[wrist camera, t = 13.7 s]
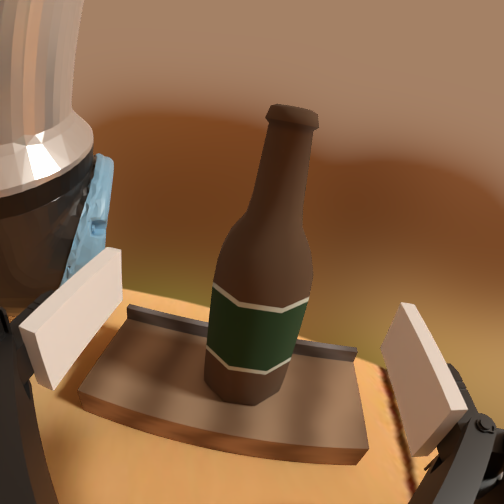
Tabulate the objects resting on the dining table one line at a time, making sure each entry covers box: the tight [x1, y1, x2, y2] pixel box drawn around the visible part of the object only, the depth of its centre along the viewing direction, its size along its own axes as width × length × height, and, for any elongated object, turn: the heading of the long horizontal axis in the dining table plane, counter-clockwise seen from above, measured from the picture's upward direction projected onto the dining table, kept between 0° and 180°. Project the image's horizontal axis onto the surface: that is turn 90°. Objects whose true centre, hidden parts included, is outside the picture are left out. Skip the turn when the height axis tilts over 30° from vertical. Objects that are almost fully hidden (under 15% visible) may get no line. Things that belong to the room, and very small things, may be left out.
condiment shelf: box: [77, 304, 369, 465], centre depth 29 cm, size 26×13×4 cm, turn 83°
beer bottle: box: [204, 104, 319, 406], centre depth 25 cm, size 8×8×24 cm
